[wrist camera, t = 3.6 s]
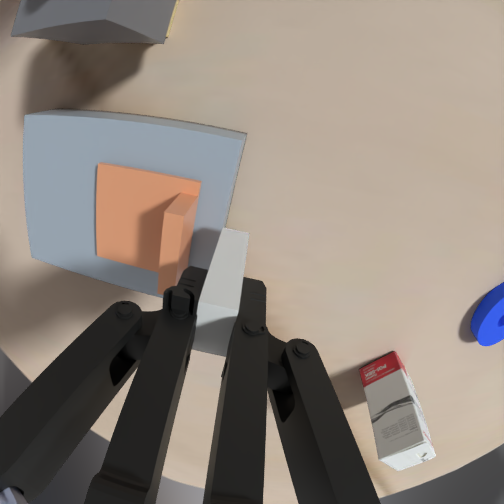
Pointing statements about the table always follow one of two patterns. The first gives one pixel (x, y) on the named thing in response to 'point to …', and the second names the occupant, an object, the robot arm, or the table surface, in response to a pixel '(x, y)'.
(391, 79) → the table surface
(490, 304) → the bracket
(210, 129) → the socket
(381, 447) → the ink box
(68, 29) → the plug
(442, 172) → the table surface
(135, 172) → the shutter
